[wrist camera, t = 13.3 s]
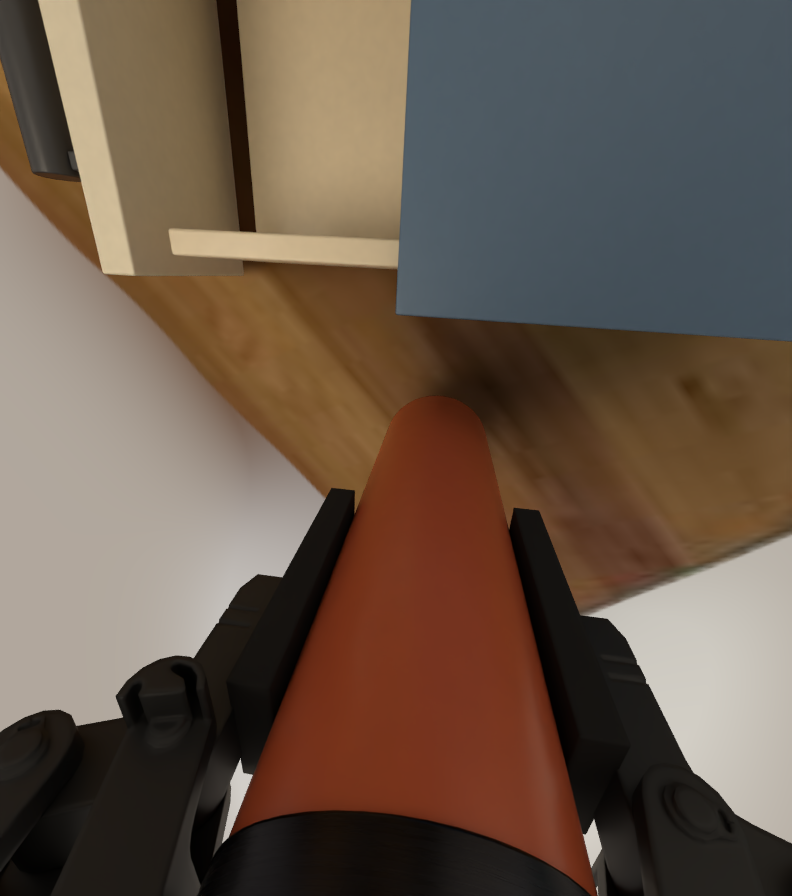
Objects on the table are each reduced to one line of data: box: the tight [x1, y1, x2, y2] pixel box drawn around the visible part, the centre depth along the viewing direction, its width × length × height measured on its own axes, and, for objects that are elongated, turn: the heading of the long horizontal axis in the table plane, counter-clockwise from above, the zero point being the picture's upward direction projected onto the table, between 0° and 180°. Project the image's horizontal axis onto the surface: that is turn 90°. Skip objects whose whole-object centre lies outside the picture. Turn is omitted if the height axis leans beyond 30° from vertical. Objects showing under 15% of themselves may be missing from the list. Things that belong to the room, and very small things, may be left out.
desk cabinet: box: [396, 0, 792, 341], centre depth 12 cm, size 15×15×10 cm
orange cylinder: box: [197, 396, 598, 896], centre depth 12 cm, size 5×5×17 cm
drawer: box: [0, 0, 411, 276], centre depth 14 cm, size 18×13×8 cm
